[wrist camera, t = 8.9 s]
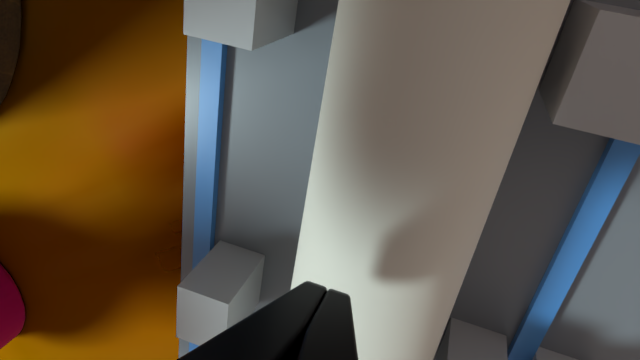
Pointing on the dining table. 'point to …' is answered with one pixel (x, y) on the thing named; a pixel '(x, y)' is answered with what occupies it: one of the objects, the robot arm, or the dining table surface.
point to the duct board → (504, 217)
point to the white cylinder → (415, 155)
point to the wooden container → (9, 42)
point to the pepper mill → (10, 308)
